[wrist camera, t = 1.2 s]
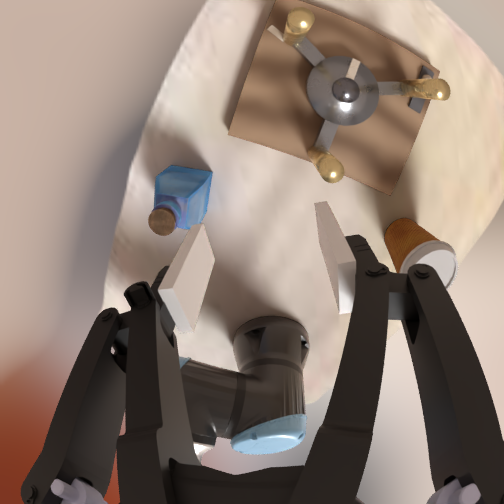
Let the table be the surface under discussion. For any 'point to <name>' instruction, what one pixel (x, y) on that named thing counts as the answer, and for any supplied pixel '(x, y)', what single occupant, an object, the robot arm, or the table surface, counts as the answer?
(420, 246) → the disposable coffee cup
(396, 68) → the stand
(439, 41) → the table surface
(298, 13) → the capstan
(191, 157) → the table surface
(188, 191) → the perfume bottle
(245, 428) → the robot arm
